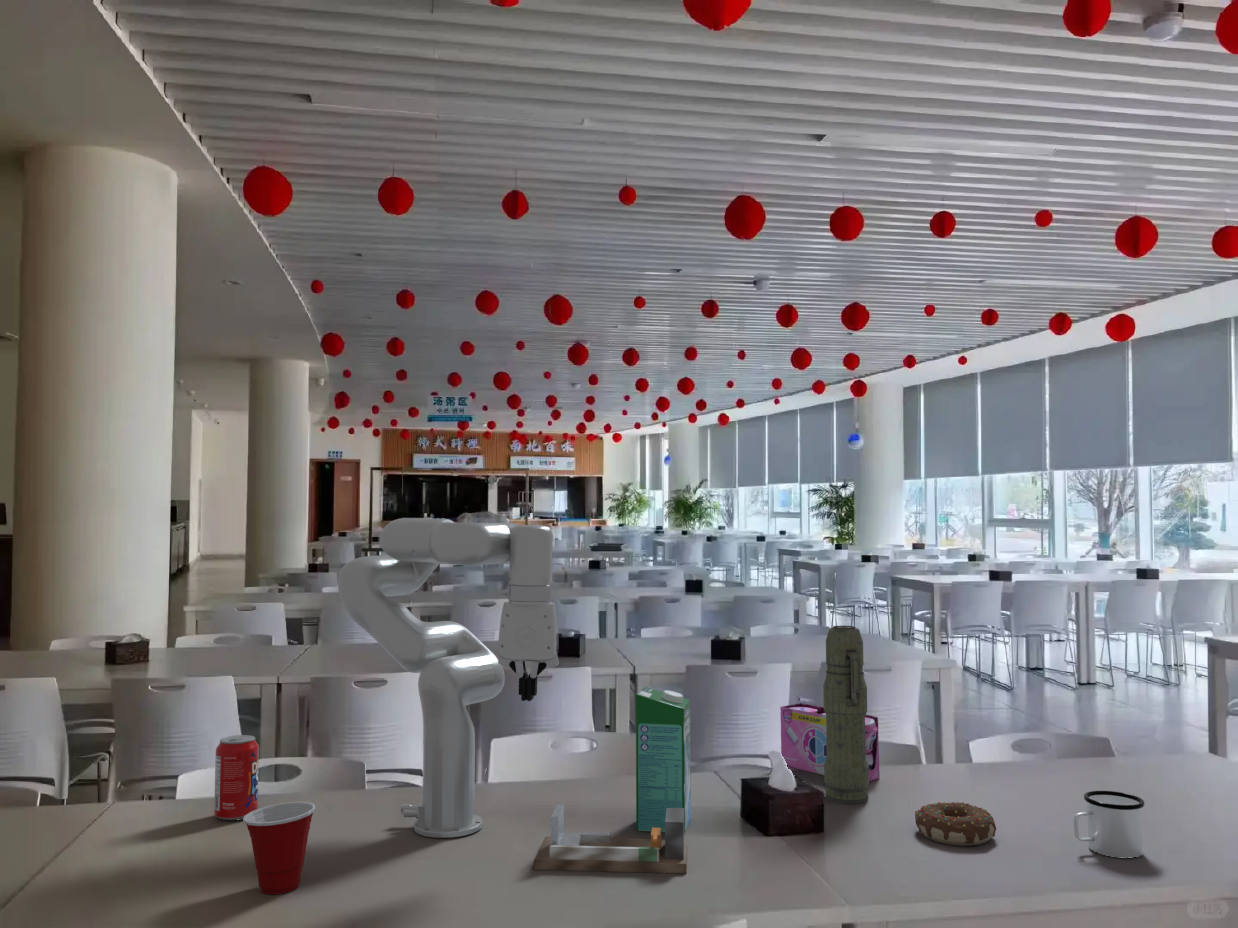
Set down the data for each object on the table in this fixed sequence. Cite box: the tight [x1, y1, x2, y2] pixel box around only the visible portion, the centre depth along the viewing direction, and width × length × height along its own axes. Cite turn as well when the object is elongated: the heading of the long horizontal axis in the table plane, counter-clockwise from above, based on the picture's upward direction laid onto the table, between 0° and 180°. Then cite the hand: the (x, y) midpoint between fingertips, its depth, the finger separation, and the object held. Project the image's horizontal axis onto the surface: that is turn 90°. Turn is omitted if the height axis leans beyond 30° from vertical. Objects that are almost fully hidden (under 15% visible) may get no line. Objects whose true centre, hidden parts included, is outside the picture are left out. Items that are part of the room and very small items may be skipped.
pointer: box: [650, 828, 662, 850], centre depth 162 cm, size 2×7×3 cm, turn 175°
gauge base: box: [533, 808, 688, 874], centre depth 165 cm, size 25×12×8 cm, turn 85°
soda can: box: [213, 734, 260, 821], centre depth 189 cm, size 8×8×15 cm
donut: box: [914, 801, 997, 847], centre depth 176 cm, size 14×14×5 cm
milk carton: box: [635, 686, 692, 834], centre depth 183 cm, size 9×9×25 cm
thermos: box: [822, 625, 870, 805], centre depth 202 cm, size 9×12×35 cm
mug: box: [1073, 790, 1146, 858], centre depth 168 cm, size 12×10×9 cm
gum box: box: [779, 702, 880, 782], centre depth 222 cm, size 24×8×14 cm, turn 39°
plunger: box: [550, 803, 612, 846], centre depth 165 cm, size 10×7×6 cm
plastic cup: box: [242, 801, 316, 895], centre depth 152 cm, size 11×11×12 cm
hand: (527, 699), depth 171 cm, fingers closed
